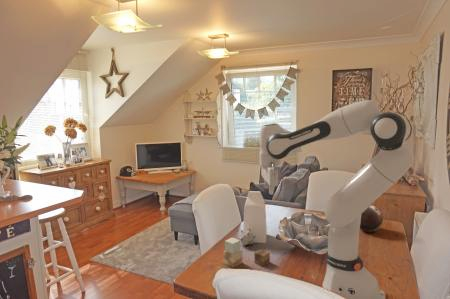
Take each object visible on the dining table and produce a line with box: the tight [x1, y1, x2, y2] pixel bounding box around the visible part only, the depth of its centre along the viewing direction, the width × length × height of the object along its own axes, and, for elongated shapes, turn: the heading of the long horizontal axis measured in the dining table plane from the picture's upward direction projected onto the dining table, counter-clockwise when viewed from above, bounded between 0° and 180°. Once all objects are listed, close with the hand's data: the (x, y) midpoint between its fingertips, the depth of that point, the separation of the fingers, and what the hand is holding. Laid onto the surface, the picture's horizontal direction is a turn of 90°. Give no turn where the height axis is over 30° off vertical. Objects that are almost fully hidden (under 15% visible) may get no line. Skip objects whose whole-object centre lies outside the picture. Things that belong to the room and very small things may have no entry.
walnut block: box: [254, 248, 271, 267], centre depth 148 cm, size 5×5×5 cm
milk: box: [242, 190, 268, 244], centre depth 173 cm, size 12×12×26 cm
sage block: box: [224, 237, 242, 254], centre depth 147 cm, size 5×5×5 cm
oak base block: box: [223, 249, 243, 269], centre depth 148 cm, size 6×6×6 cm
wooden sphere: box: [360, 204, 384, 233], centre depth 181 cm, size 15×15×15 cm
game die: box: [237, 229, 256, 248], centre depth 166 cm, size 9×8×10 cm
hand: (269, 191), depth 143 cm, fingers open, 8 cm apart
